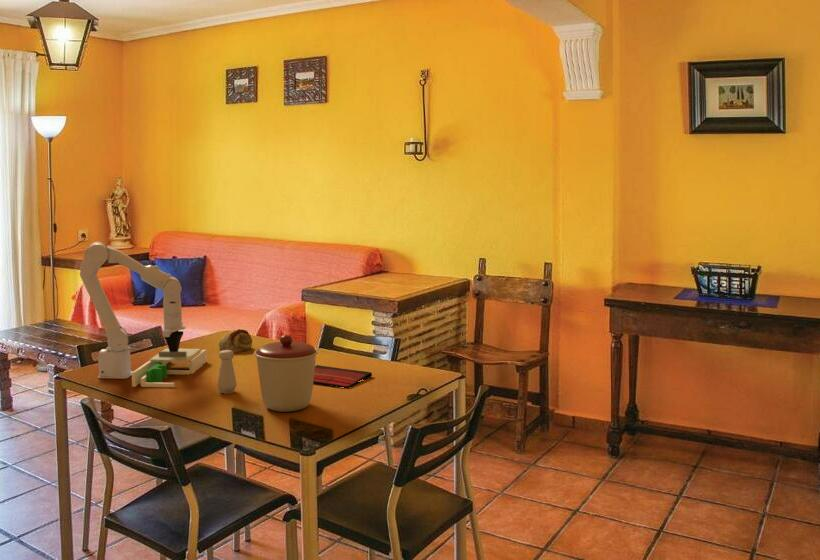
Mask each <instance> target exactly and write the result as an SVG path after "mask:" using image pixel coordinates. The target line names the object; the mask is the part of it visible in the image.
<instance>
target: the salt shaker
mask: <svg viewBox="0 0 820 560" xmlns="http://www.w3.org/2000/svg"><path fill="white" fill-rule="evenodd" d="M234 354H235V353H233V351H231V350H223V351H222V350H220V351H219V354H218V358H219V359H220V365H219V369H218V370H219V371H218V376H217V377H218V378H217V389H218V391H219V392H220V394H222V393H224V394H223V395H230V394H229V393H231V394H233V393H234V392H235V390H236V388H237V379H236V374H235V370H234V364H233V359H234Z"/></svg>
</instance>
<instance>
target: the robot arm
mask: <svg viewBox="0 0 820 560" xmlns="http://www.w3.org/2000/svg"><path fill="white" fill-rule="evenodd" d="M106 262H107V263H108V264H114V263H115V264H119V265H121V266H123V267H125V268H127V269H129V270H131V271H133V272H135V273H136V274H139V275H140V279H141V281H143V282H145V283H146V284H148V285H150V286H152V287H154V288H155V289H157V290H162V291H163V301H162V303H163V304H162V305H163V331H162V337H163V339H164V340H165V341H166V344H167V348H169V351H178V350H179V349H180V343H181V340H182V337H183V336H184V331H181V330H185V329H186V328H187V327H186V326H184V322H183V318H182V311H183V310H182V300H181V296H182V295H181V293H182V291H183V290H182V289H183V287H182V284H181V282H180V281H179V280H178V279H177V278H176V277H175V276H172V274H171V273H167V272H165V271H163V270H161V269H159V266H158V265H152V264H148V265H144V264H142V263H141V262H139V261H137V260H136V259H134V258H133V257H131V256H129V255H127V254H126V253H124V252H123V251H121V250H119V249H117V248H114V247H113V246H110V245H107V244H105V243H103V242H101V241H95V242H91V243H90V244H89V245H88V247H87V248H86V250H85V251H84V254H83V257H82V262H81V266H80V271H79V275H80V278H81V281H82V282H83V283H82V284H83V285H84V286H85V289H86V291H87V294H88V296H89V298H90V300H91V303H92V304H93V306H94V309H95V311H96V312H97V315H98V317H99V319H100V322H101V323H102V327H103V328H104V331H105V333H106V337H107V345H108V346H107V347H106V348H102V349H100V350H99V352H98V355H97V356H98V357H97V364H98V376H97V378H98V379H118V380H119V379H123V380H124V379H128V378H130V377H132V372H133V371H134V370H132V369H131V368H132V363H131V347H130V346H129V345H128V344H129V337H128V336H129V335H128V331H127V330H126V328H124V327H123V326H122V325H121V324H120V322H119V319H118V318H117V316H116V314H115V312H114V310H113V308H112V306H111V303H110V301H109V299H108V297H107V295H106V292H105V290H104V288H103V285H102V283H101V282H100V280H99V277H98V275H97V274H98V272H99V270H100V268H101V267H102V266H103V264H104V263H106Z"/></svg>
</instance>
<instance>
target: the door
mask: <svg viewBox="0 0 820 560" xmlns="http://www.w3.org/2000/svg"><path fill="white" fill-rule="evenodd" d="M199 352H201V348H179V350H178V351H169V347H166V348H164V349H163V350H160V351H158V353H157V354H155V355H154V356H153V357H150V359H149V360H150V361H169V362H170V363H172V362H176V363H177V362H178V363H181V362H182V363H186V362H188V361H189V360H191V359H192V358H193V357H194V356H196V355H197V354H198V353H199ZM169 362H168V363H169Z"/></svg>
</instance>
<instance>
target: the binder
mask: <svg viewBox="0 0 820 560" xmlns="http://www.w3.org/2000/svg"><path fill="white" fill-rule="evenodd" d="M366 376H372V377H373V374H372V372H370V371H365V370H364V371H363V370H358V369H357V370H355V369H348V368H342V367H341V368H339V367H334V366H333V367H332V366H326V365H321V364H320V365H319V364H315V371H314V381H313V383H314V384H313V385H320V384H322V385H321V386H327V385H332V386H331V387H334V386H337V387H344V388H347V389H350V388H349V387H351V388H353V387H355V386H357V385H359V384H361V383H360V382H358V381H360V380H362V379H365V378H367V377H366ZM358 383H359V384H358ZM356 384H357V385H356ZM354 385H355V386H354ZM352 386H353V387H352ZM337 387H336V388H337Z"/></svg>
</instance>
